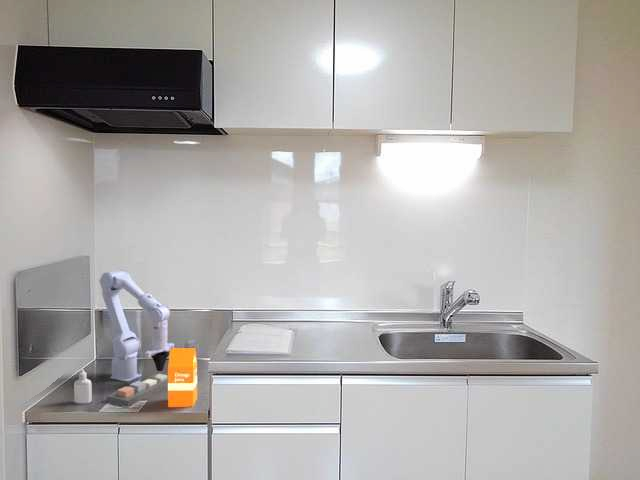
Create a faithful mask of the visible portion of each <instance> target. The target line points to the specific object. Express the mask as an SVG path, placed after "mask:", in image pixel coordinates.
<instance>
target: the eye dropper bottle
mask: <svg viewBox="0 0 640 480" xmlns="http://www.w3.org/2000/svg"><path fill="white" fill-rule="evenodd" d="M87 377H88V376H87V372H86V371H85V370H84V368H82V369H81V371H80V372H79V373H78V379H76V380H75V381H74V384H73V397H74V398H73V399H74V400H73V402H74V403H75V404H77V405H78V404H79V405H84V404H86V405H88V404H89V403H91V402H92V401H93V393H92V392H93V391H92V390H93V389H92V388H93V386H92V385H93V384H92V381H91V379H88V378H87Z"/></svg>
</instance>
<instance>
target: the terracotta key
mask: <svg viewBox="0 0 640 480" xmlns="http://www.w3.org/2000/svg"><path fill="white" fill-rule="evenodd" d="M116 392H117V396H119V397H123V398H127V397H129V396H131V395H133V394H134V388H131V387H128V386H125V385H124V386H123V387H122V388H119V389H117V391H116Z"/></svg>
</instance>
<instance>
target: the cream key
mask: <svg viewBox="0 0 640 480" xmlns="http://www.w3.org/2000/svg"><path fill="white" fill-rule="evenodd" d="M143 382H145V383H146V386H149V387H150V386H152V385H154V384H156V383H157V380H153V379H147V380H145V381H143Z"/></svg>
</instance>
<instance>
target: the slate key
mask: <svg viewBox="0 0 640 480" xmlns="http://www.w3.org/2000/svg"><path fill="white" fill-rule="evenodd" d="M140 381H141V380H137V381H135V382H132V383H130V384H129V386H130V387H131V388H134V391H135V392H140V391H142V390H144V389H146V383H145V382H140Z"/></svg>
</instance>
